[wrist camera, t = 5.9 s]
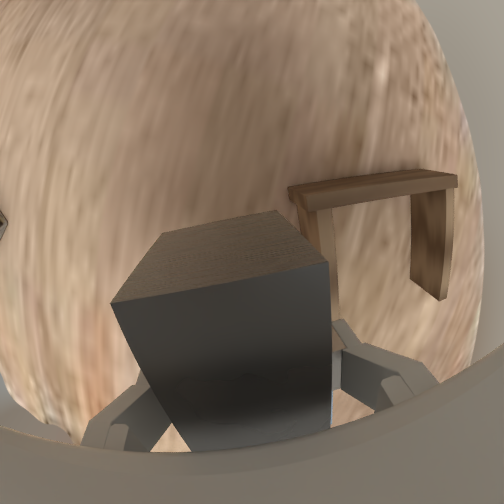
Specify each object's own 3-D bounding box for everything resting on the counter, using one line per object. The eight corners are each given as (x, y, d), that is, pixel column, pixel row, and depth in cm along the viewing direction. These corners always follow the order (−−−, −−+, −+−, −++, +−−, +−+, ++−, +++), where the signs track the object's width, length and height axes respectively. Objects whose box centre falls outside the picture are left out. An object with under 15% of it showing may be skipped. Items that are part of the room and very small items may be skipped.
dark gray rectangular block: (162, 233, 9) (110, 303, 5) (276, 209, 9) (328, 261, 5) (220, 406, 12) (224, 492, 8) (299, 391, 12) (326, 474, 8)
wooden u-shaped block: (287, 187, 25) (306, 195, 19) (420, 168, 25) (457, 174, 20) (304, 308, 29) (321, 341, 24) (420, 275, 30) (450, 296, 24)
